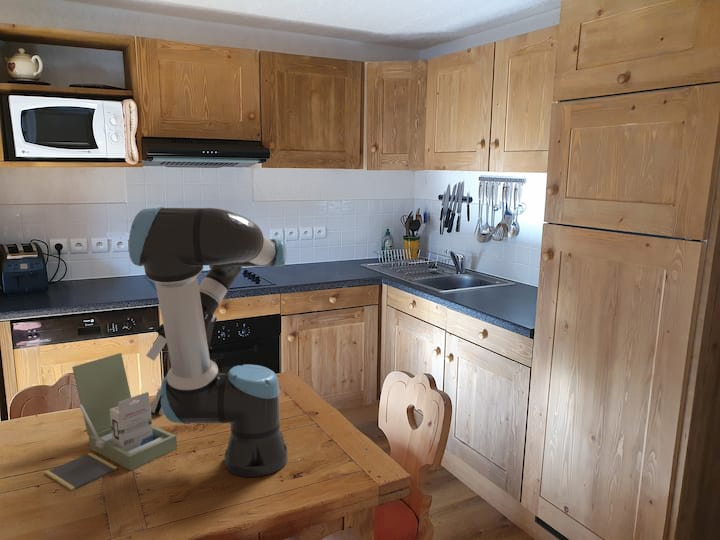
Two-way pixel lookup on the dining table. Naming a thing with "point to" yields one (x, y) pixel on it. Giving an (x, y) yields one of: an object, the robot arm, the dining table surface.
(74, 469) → the mat
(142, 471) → the dining table surface
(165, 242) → the robot arm
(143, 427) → the ink box
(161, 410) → the white black curved block
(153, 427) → the case
